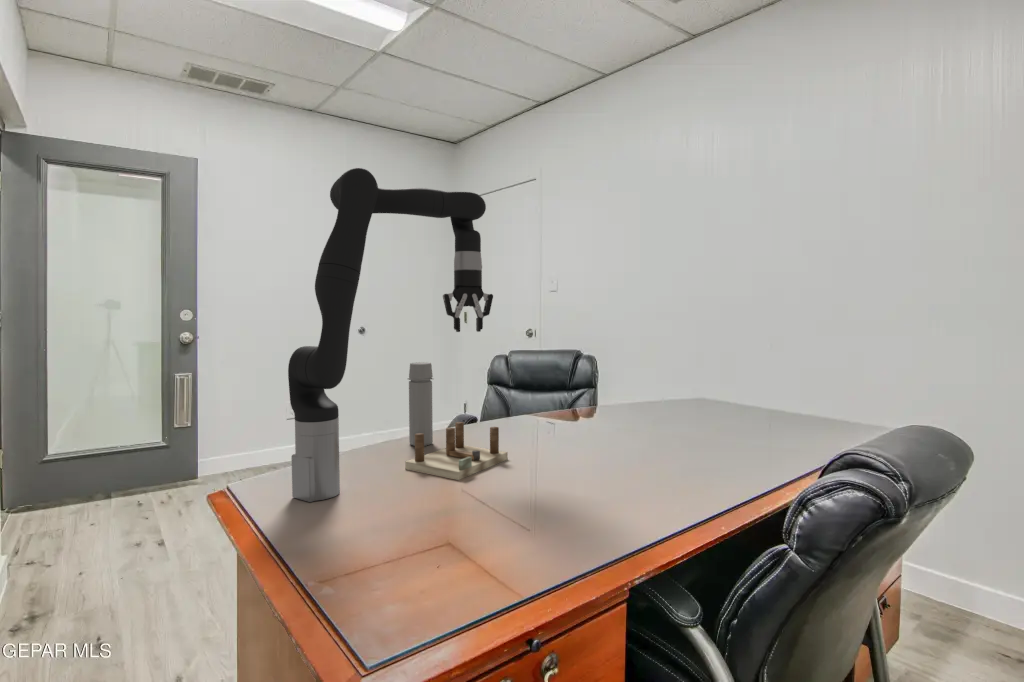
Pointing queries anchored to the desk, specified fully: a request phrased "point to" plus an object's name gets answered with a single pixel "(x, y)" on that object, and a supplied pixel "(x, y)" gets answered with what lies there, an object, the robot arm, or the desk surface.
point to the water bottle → (420, 402)
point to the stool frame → (453, 465)
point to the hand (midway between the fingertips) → (468, 331)
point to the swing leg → (458, 453)
